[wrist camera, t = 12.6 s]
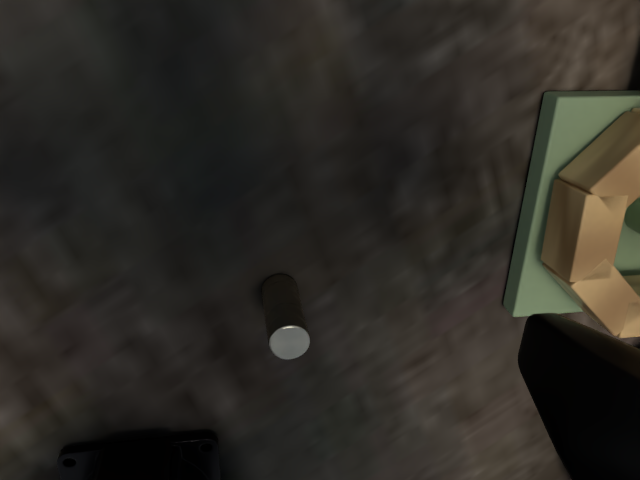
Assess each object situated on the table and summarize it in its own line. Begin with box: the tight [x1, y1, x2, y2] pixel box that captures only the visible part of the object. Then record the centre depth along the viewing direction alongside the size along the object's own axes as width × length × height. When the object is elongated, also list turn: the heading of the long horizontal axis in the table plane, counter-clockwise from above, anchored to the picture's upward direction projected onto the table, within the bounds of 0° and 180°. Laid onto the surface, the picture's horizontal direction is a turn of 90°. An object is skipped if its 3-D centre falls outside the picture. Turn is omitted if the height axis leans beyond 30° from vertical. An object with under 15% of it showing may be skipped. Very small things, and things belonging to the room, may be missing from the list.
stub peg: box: [261, 274, 310, 360], centre depth 20 cm, size 1×1×4 cm
